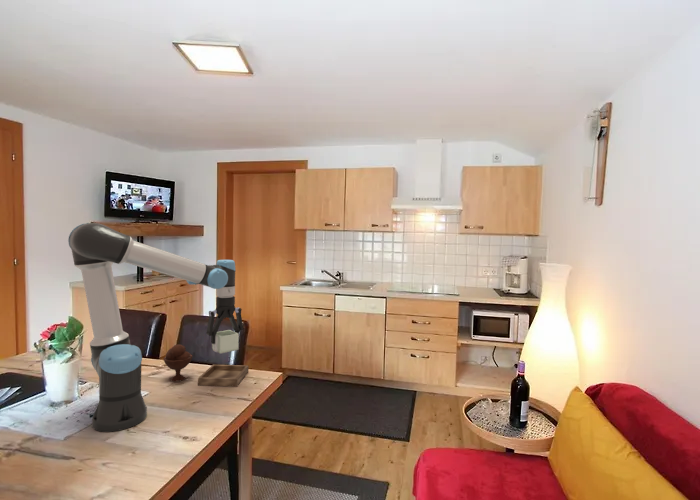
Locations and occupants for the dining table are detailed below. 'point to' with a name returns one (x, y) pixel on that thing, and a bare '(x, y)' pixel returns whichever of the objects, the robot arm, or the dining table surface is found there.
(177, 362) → the ice cream bowl
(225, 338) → the sage crate
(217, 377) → the walnut tray
